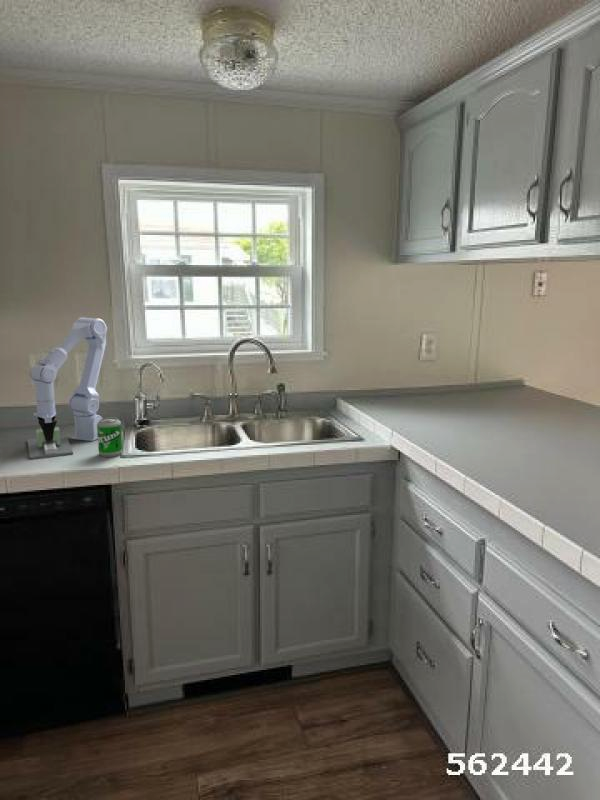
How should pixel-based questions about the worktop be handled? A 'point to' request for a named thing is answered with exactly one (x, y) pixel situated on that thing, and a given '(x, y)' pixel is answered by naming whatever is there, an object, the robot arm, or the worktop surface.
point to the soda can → (109, 437)
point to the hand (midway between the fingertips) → (48, 438)
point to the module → (41, 437)
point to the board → (41, 452)
